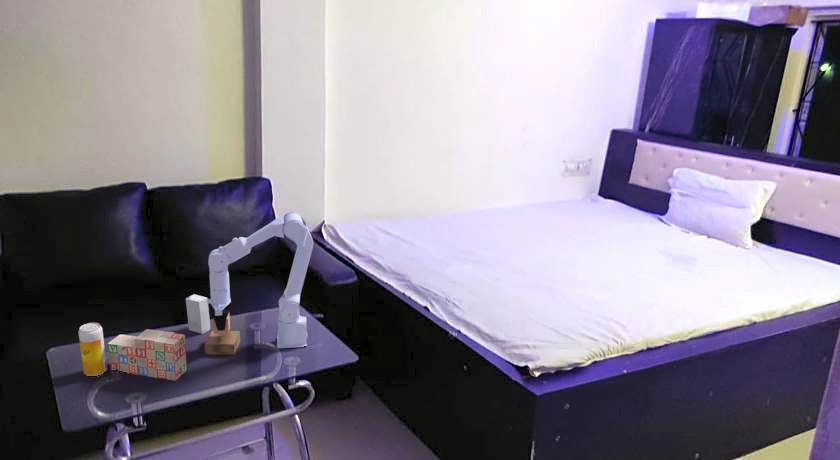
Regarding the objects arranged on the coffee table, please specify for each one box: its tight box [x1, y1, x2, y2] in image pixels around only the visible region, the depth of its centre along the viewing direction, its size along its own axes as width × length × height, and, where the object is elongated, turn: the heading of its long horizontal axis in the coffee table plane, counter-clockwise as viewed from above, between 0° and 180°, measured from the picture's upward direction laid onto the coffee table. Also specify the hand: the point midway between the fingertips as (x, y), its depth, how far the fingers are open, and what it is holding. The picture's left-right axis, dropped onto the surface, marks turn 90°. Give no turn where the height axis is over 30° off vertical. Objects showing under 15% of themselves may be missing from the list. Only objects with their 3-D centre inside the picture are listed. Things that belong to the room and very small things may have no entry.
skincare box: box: [185, 293, 211, 335], centre depth 206 cm, size 6×4×12 cm
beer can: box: [78, 322, 108, 377], centre depth 178 cm, size 6×6×15 cm
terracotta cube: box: [212, 313, 231, 334], centre depth 195 cm, size 4×4×5 cm
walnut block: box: [204, 330, 241, 356], centre depth 197 cm, size 9×9×4 cm
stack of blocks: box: [107, 328, 188, 382], centre depth 181 cm, size 21×6×12 cm, turn 80°
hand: (222, 326), depth 195 cm, fingers closed on terracotta cube, 4 cm apart
